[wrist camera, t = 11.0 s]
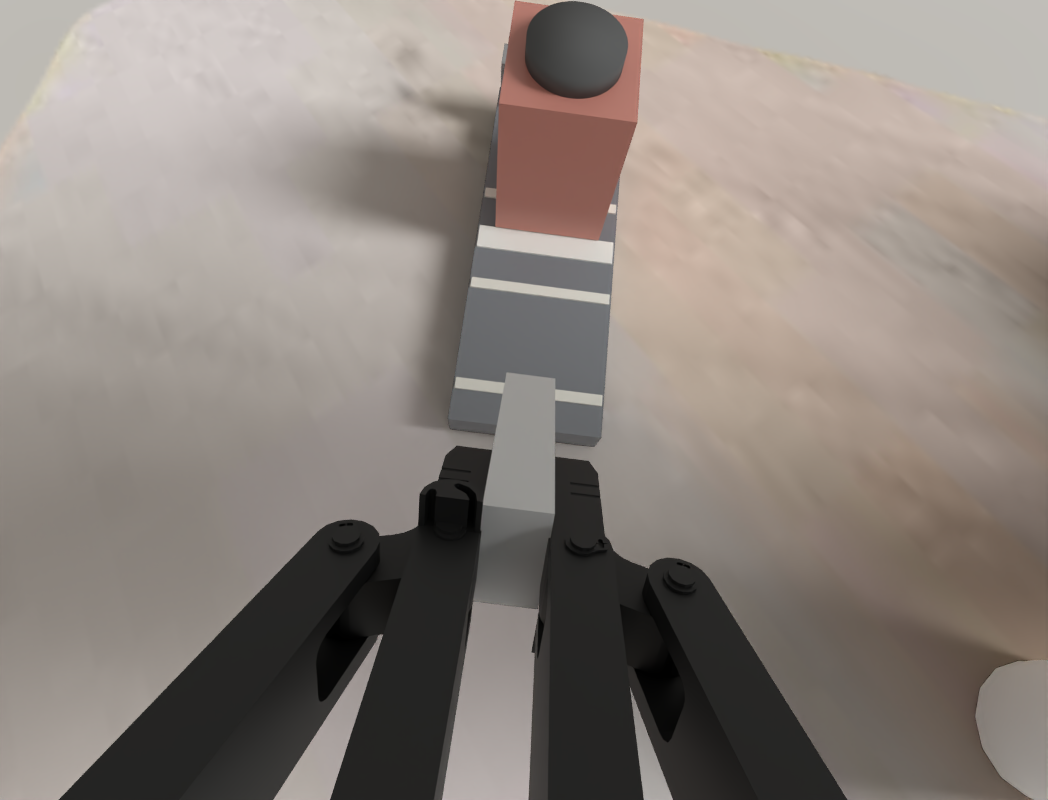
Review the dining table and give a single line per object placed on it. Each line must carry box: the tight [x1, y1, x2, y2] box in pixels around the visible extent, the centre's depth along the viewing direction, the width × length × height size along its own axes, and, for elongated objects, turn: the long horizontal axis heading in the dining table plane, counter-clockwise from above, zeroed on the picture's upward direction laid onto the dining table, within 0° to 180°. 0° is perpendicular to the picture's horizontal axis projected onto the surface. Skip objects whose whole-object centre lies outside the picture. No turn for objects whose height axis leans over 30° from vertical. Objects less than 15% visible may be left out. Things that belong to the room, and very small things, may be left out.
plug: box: [495, 1, 644, 240], centre depth 30 cm, size 6×6×10 cm
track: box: [448, 44, 620, 447], centre depth 33 cm, size 22×8×5 cm, turn 174°
